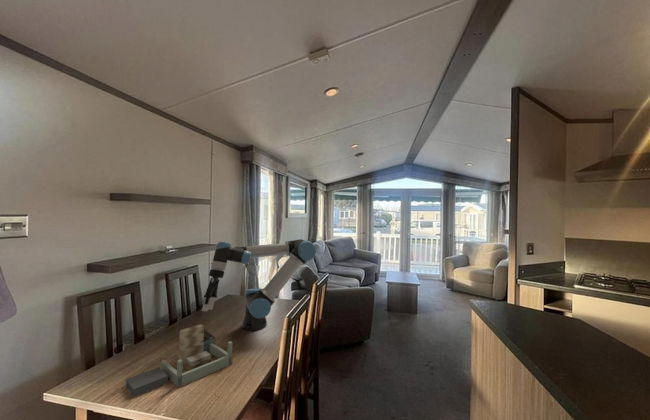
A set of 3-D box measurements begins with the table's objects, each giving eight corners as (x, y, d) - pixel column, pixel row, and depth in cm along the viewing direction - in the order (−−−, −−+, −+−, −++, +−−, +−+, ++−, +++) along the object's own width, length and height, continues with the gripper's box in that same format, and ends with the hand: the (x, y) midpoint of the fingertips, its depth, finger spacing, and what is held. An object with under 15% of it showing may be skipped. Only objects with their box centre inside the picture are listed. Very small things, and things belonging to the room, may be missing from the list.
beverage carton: (200, 354, 140) (200, 341, 140) (187, 341, 154) (187, 329, 154) (216, 349, 146) (216, 336, 146) (202, 337, 159) (202, 326, 160)
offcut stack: (206, 363, 131) (206, 350, 131) (212, 367, 127) (213, 354, 128) (182, 372, 123) (182, 358, 123) (188, 377, 119) (188, 363, 119)
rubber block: (158, 374, 122) (158, 367, 122) (167, 383, 115) (167, 375, 115) (125, 386, 113) (126, 379, 113) (133, 397, 106) (133, 389, 106)
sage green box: (212, 351, 143) (212, 331, 143) (232, 363, 131) (232, 342, 131) (160, 370, 125) (161, 347, 125) (178, 387, 113) (178, 361, 113)
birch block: (200, 357, 137) (200, 324, 137) (203, 359, 135) (203, 325, 135) (178, 365, 129) (179, 330, 129) (181, 367, 127) (182, 332, 127)
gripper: (214, 270, 166) (204, 308, 159) (206, 266, 142) (194, 310, 136) (227, 272, 167) (218, 309, 160) (221, 269, 143) (210, 313, 137)
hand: (207, 310), depth 148 cm, fingers open, 13 cm apart
